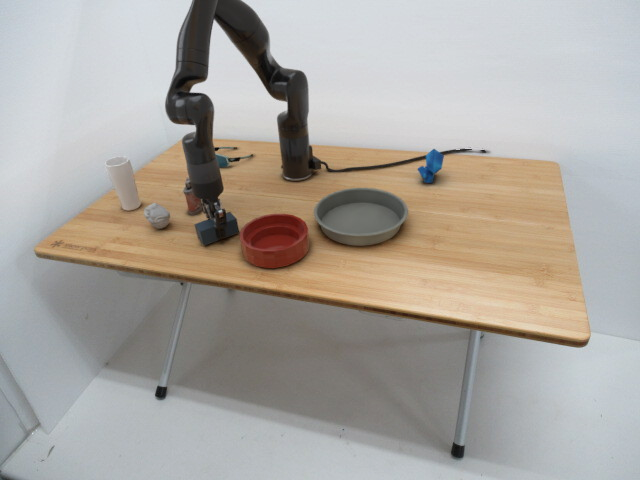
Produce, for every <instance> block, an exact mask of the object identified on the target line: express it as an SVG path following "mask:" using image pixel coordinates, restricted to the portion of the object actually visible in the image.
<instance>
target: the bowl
mask: <svg viewBox="0 0 640 480" xmlns="http://www.w3.org/2000/svg"><path fill="white" fill-rule="evenodd" d="M239 239H240V245H241V250H242V256H243V258H244V259H245V260H246V261H247V263H249V264H251V265H253V266H256V267H259V268H265V269H277V268H281V267H282V268H283V267H287V266H290V265H292V264H295V263H297V262H298V261H299V260H301V259H302V258H304V257H305V255H306V254H307V253H308V251H309V249H310V237H309V227H308V224H307V222H306V221H304V220H303V219H302V218H301V217H298V216H296V215H294V214H288V213H269V214H264V215H262V216H258V217H256V218H253V219H252V220H250V221H249V222H247V223H245V224H244V226H243V227H242V228H241V230H240V231H239Z"/></svg>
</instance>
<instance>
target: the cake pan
mask: <svg viewBox="0 0 640 480" xmlns="http://www.w3.org/2000/svg"><path fill="white" fill-rule="evenodd" d="M408 214H409V207H408V205H407V204H406V202H405V201H404V200H403V199H402V198H401V197H399V196H398V195H396V194H394V193H392V192H389V191H387V190H383V189H379V188H373V187H350V188H344V189H340V190H336V191H334V192H331V193H329V194H327V195H325V196H324V197H322V198H321V199H320V200H319V201H318V202H317V203H316V204H315V206H314V209H313V217H314V219H315V220H316V222H317V223H318V224H319V225H320V228H321V231H322V232H323V234H324V235H325V236H326V237H328V238H329V239H331V240H333V241H334V242H337V243H338V244H343V245H348V246H357V247H358V246H359V247H363V246H372V245H378V244H381V243H383V242H386V241H388V240H390V239H391V238H393V237H394V236H395V235H396V234H397V233H398V232H399V231H400V228H401V226H402V224H404V222H405V221H406V220H407V218H408Z"/></svg>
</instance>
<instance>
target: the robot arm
mask: <svg viewBox="0 0 640 480" xmlns="http://www.w3.org/2000/svg"><path fill="white" fill-rule="evenodd" d="M214 22H215V23H216V24H217V25H218V26H219V27H220V29H221V30H222V31H223V32H224V34H225V35H226V37H227V38H228V40H229V41H230V42H231V43H232V44H233V46H234V47H235V48H236V50H238V52H239V53H240V54H241V55H242V57H243V59H245V61H246V62H247V63H248V64H249V66H250V67H251V69H253V71H254V72H255V74H256V75H257V77H258V79H259V80H260V82H261V84H262V85H263V87H264V89H265V90H266V91H267V93H268V95H269V96H270V97H271V98H273V99H274V100H275V101H279V102H284V103H286V105H287V107H286V110H284V111H281V112H280V113H278V114H277V116H276V123H277V132H278V133H277V134H278V140H279V149H280V158H281V159H280V160H281V165H280V169H281V170H282V177H283V179H285V180H287V181H289V182H301V181H305V180H308V179H309V178H311V177H312V176H313V175H315V171H318V170H322V165H323V166H324V167H325V169H326V170H327V171H328V172H330V173H342V172H348V171H358V170H372V169H379V168H385V167H391V166H396V165H401V164H406V163H410V162H414V161H418V160H423V159H426V155H427V154H424V155H420V156H417V157H416V156H415V157H413V158H409V159H404V160H399V161H393V162H389V163H383V164H375V165H367V166H366V165H365V166H351V167H346V168H341V169H332V168H330V167H329V165H328V163H327V162H325V161H323V160H321V159H320V158H318V157H316V156H315V155H314V153H313V152H314V151H313V146H312V145H310V136H309V135H310V134H309V120H308V118H309V114H310V113H309V112H310V97H309V96H310V93H309V90H310V89H309V79H308V76H307V75H306V73H305V72H304V71H303V70H300V69H295V68H286V67H284V66H281V65H280V64H279V63H278V62H277V60H276V59H275V57H274V56H273V55H272V53H271V36H270V33H269V30H268V28H267V27H266V25H265V24H264V22H263V20H262V19H261V18H260V16H259V15H258V14H257V12H256V10H254V9H253V8H252V7H251V6H250V5H249V4H248V3H247V2H245V1H243V0H192V1H191V2H190V6H189V9H188V11H187V13H186V15H185V18H184V19H183V22H182V24H181V26H180V29H179V31H178V36H177V39H176V47H175V48H176V49H175V69H174V72H173V75H172V78H171V81H170V84H169V86H168V87H169V88H168V91H167V93H166V97H165V100H164V109H165V113H166V117H167V118H168V120H169V121H170V122H171V123H173V124H174V125H175V124H176V125H181V126H183V125H184V126H194V127H195V131H192V132H188V133H186V134H184V136H183V137H182V138H181V145H182V149H183V155H184V158H185V162H186V170H187V171H186V172H187V175H188V177H189V179H190V183H191V187H192V191H193V195H194V196H195V197H196V198H199V200H200V203H201V206H202V210H201V211H202V213H203V214H204V215H205V219H206V220H208V219H211V220H213V223H214V227H215V230H216V235H217V238H218V239H219V240H218V241H220V240H223V239H226V238H227V237H226V233H225V229H224V227H226V226H227V219H226V213H227V210H226V209H225V208H224V207H222V206H223V205H222V200H221V199H220V198H219V197H220V196H221V194H222V193H223V192H224V189H225V188H224V183H223V178H222V174H221V167H219V163H218V161H217V158H216V154H217V153H216V151H215V149H214V148H215V145H214V144H215V143H214V121H215V104H214V103H213V100H212V98H211V97H210V96H209V95H208V94H207V93H204V92H192V89H193V87H194V86H196V85H198V84H202V83H205V82H206V81H207V80H208V78H209V67H210V54H211V51H210V50H211V41H212V31H213V26H214ZM456 149H457V148H455V149H448V150H443V151H438V152H439V153H441V154H442V155H445V154H450V153H458V152H459V153H460V152H468V151H473V150H472V149H465V148H459V149H460V150H456ZM479 151H480V152H482V153H484V154H486V153H487V151H486V150H485V149H484V150H479ZM215 153H216V154H215ZM225 237H226V238H225Z"/></svg>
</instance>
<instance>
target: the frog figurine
mask: <svg viewBox="0 0 640 480" xmlns="http://www.w3.org/2000/svg"><path fill="white" fill-rule="evenodd" d="M143 215H144V218H145V219H146V220H147V222H148V223H150V225H151V226H152V227H154V229H160V230H161V229H164V228H166V227H167V226H168V225H169V224H170V219H171V213H170V212H169V210H168V209H167V208H166V207H164V206H162V205H161V204H159V203H157V202H152V203H151V204H149V205H147V206H146V207H145V208H144V210H143Z"/></svg>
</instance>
